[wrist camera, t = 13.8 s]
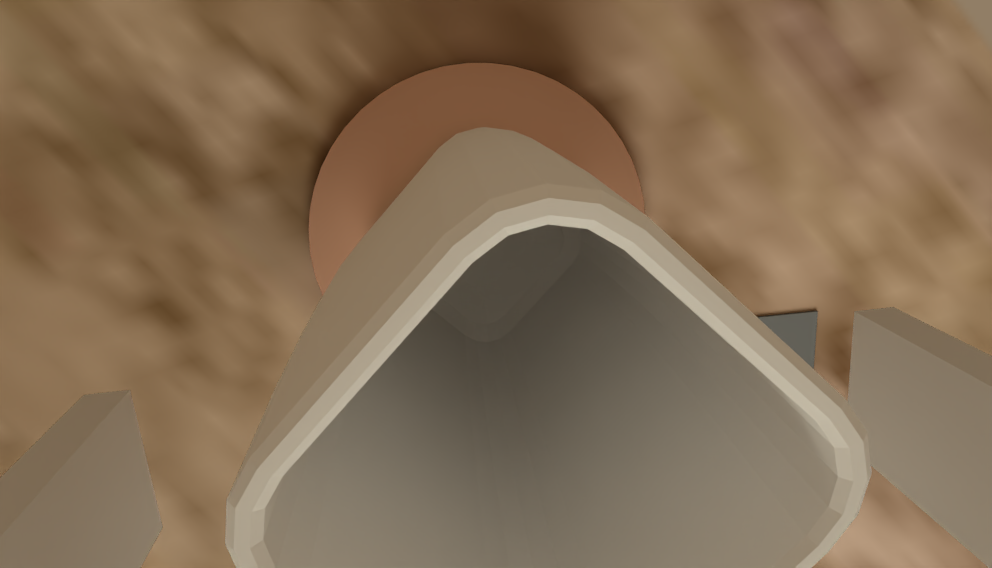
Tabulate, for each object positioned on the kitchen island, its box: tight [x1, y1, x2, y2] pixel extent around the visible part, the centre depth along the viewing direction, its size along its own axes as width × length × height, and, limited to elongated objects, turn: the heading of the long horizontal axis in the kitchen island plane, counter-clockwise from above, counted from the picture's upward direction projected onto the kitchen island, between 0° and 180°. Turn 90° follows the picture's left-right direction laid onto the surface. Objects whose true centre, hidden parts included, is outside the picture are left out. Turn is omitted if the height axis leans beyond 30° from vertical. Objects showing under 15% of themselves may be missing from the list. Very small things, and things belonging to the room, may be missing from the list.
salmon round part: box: [309, 63, 645, 295], centre depth 24 cm, size 11×11×1 cm
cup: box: [225, 127, 872, 568], centre depth 17 cm, size 7×7×15 cm
